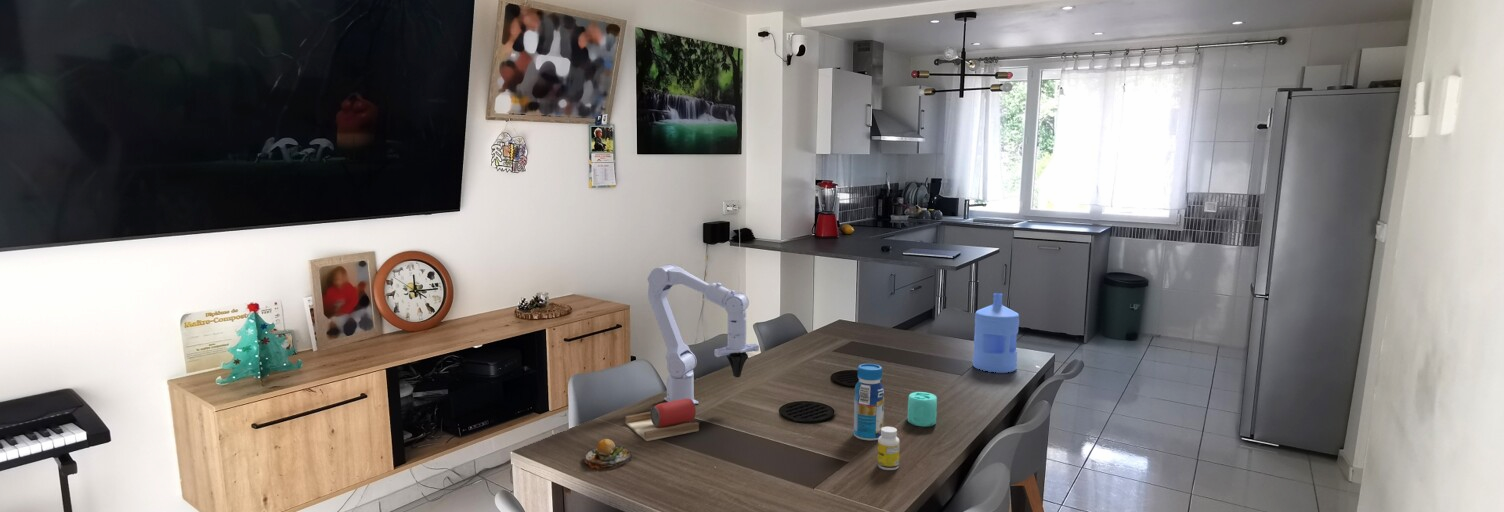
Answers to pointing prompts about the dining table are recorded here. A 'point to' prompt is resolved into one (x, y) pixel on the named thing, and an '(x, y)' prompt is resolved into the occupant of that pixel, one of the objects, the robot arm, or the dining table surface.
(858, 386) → the beverage bottle
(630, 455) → the food on plate
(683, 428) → the birch tray
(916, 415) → the turquoise short cylinder
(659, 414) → the beer can
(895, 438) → the supplement bottle
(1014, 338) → the water jug
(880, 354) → the dining table surface
